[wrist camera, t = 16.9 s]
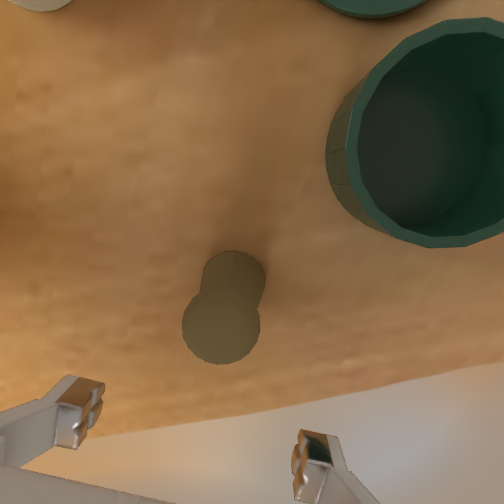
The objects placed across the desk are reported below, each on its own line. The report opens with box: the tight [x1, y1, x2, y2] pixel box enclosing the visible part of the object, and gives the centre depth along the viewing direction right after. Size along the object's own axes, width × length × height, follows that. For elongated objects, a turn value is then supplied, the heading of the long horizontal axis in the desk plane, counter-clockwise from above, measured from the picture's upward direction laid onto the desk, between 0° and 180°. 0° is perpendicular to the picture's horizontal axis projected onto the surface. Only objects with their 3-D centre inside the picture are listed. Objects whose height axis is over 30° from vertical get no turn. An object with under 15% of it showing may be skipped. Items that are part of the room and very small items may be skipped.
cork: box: [182, 251, 265, 365], centre depth 25 cm, size 6×6×11 cm
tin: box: [326, 17, 504, 248], centre depth 24 cm, size 14×14×7 cm
